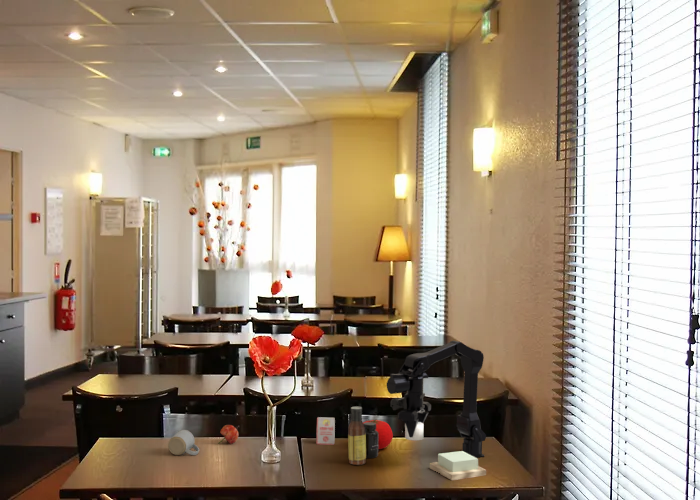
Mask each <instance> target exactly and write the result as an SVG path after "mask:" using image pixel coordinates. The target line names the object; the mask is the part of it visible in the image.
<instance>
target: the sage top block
mask: <svg viewBox="0 0 700 500" xmlns="http://www.w3.org/2000/svg"><path fill="white" fill-rule="evenodd" d="M437 462H438V464H439V465H441V466H443V467H444V468H446V469H448V470H450V471H451V472H459V471H467V470H475V469H478V466H479V459H478V457H476V458H475V457H473V456H471V455H469V454H468V453H466V452H464V451H462V450H461V451H460V450H459V451H451V452H442V453H438V454H437Z"/></svg>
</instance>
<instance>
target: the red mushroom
mask: <svg viewBox="0 0 700 500" xmlns="http://www.w3.org/2000/svg"><path fill="white" fill-rule="evenodd" d="M238 428H240V425H237V426H234V425H232V424H226V425H223V427H222V428H221V429H220V430H219V431H220V432H219V433H220V434H221V435H222V436H223V437H224V438H222V439H221V440H220V441H219V442H218V443H217V444H220V443H222V442H223V441H224V440H225V441H227V442H228V444H231V445H232V444H234V443H235V442H237V440H238V438H239V431H238Z"/></svg>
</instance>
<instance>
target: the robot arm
mask: <svg viewBox="0 0 700 500" xmlns="http://www.w3.org/2000/svg"><path fill="white" fill-rule="evenodd" d="M453 355H456V356H457V357H459V358H460V365H461V367H462V369H463V372H464V374H463V375H464V376H463V378H464V379H463V399H462V400H463V402H462V403H463V404H462V412H461V413H460V414H459V415H458V414H457V415H456V424H455V427H457V431H458V432H459V434H460V437H461V438H463V442H462V447H461V449H462V450H461V451H464V452H466V453H468V454H469V455H471V456H473V457H475V458H480V457H481V458H482V457H485V454H483V442H484V441H486V440H487V439H486V438H487V434H486V433H485V432H484V431H483V430H482V428H481V420H480V418H479V416H478V412H477V407H478V406H477V403H478V402H477V401H478V386H479V383H478V381H479V380H478V379H479V372H481V369H482V368H483V363H484V357H485V356H484V353H483V351H481V350H479V349H475V348H472V347H470V346H468V345H466V344H464V343H463V342H462V341H458V340H451V341H450V342H448V343H445V344H442V345H440V346H439V347H438V346H437V347H436V348H433V349H431V350H429V351H426V352H417V353H413V354H409V355H407V356H405V361H404V363H402V365H401V367H400V369H399V371H398V373H390V375H389V378H388V379H387V382H386V390H387V392H388V393H389V394H390V395H395V394H402V393H403V394H404V393H405V394H404V397H400V398H398V397H395V398H392V399H391V400H390V403H389V404H390V407H391V408H392V410H393V411H396V410H399V409H402V410H400V411H399V412H398V413H397V420H398V421H399V420H400V421H403V422H404V425H405V424H406V426H407V430H408V434H409V437H413V435H414V432H415V429H416V426H417V423H418V422H421V423H423V424H424V422H425V420H426V419H427V416H428V415H429V412H430V411H431V410H432V404H431V403H430V402H429V401H424V397H425V396H426V394H425V392H424V379H428V378H429V377H430V376H429V375H428V374H427V373H426V372H425V371H427V370H429V368H430V367H431V366H432V365H433V364H436V363H437V362H440V361H442V360H444V359H447V358H449V357H451V356H453Z"/></svg>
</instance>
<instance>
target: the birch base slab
mask: <svg viewBox="0 0 700 500" xmlns="http://www.w3.org/2000/svg"><path fill="white" fill-rule="evenodd" d="M429 469H431V470H432V471H434V472H435V471H436V473H437V472H438V474H439V473H440V474H439V475H441V476H443V477H445V478H447V479H449V480H451V481H457V480H463V479H464V480H465V479H469V478H475V477H482V476H487V469H485V468H483V467H481V466H480V465H478V469H475V470H467V471H459V472H451V471H450V470H448V469H446V468H444V467H443V466H441V465H439V464H438V461H434V462H429Z"/></svg>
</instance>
